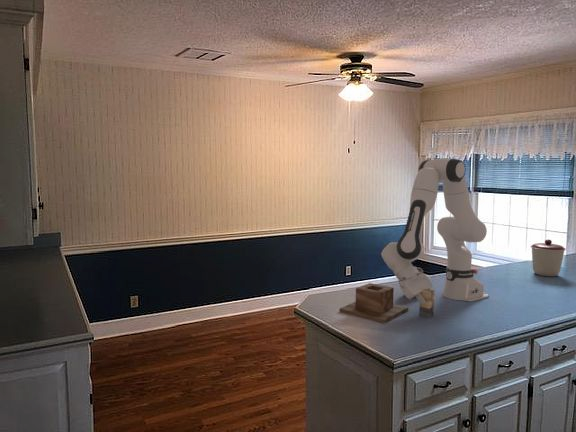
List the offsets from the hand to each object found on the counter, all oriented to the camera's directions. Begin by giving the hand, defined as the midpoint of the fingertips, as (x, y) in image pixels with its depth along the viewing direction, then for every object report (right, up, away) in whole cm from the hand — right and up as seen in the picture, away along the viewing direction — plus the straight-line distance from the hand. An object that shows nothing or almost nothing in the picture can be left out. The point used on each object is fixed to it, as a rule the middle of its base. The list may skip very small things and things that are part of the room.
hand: (428, 301), depth 199 cm
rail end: (-1, -6, +1) cm, 6 cm away
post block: (-22, -5, +6) cm, 24 cm away
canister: (+93, +2, +76) cm, 120 cm away
